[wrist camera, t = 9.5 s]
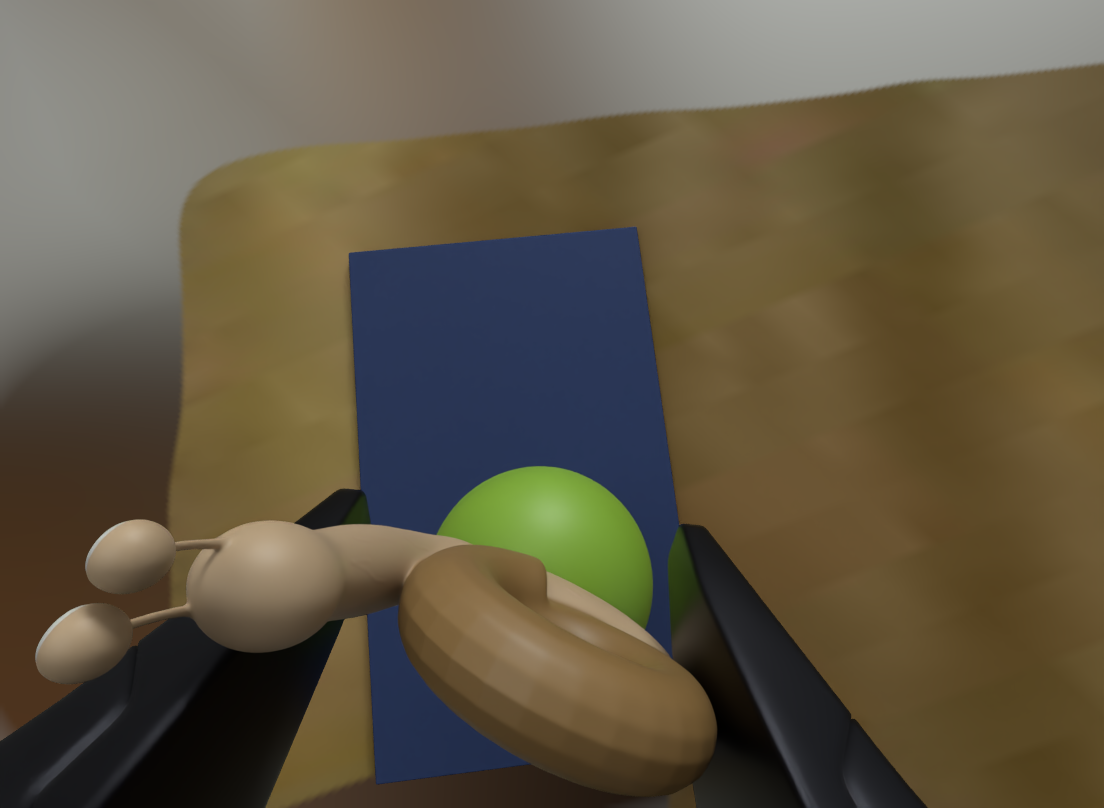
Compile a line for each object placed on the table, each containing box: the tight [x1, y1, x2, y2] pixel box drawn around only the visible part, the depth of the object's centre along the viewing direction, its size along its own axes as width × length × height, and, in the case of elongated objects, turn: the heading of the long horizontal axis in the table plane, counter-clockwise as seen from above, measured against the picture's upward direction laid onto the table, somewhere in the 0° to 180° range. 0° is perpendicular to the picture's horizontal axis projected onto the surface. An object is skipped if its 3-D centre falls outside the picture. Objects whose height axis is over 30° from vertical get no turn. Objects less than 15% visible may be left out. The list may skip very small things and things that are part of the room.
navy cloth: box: [349, 227, 679, 784], centre depth 20 cm, size 20×12×1 cm, turn 6°
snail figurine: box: [36, 466, 717, 797], centre depth 9 cm, size 5×6×12 cm
